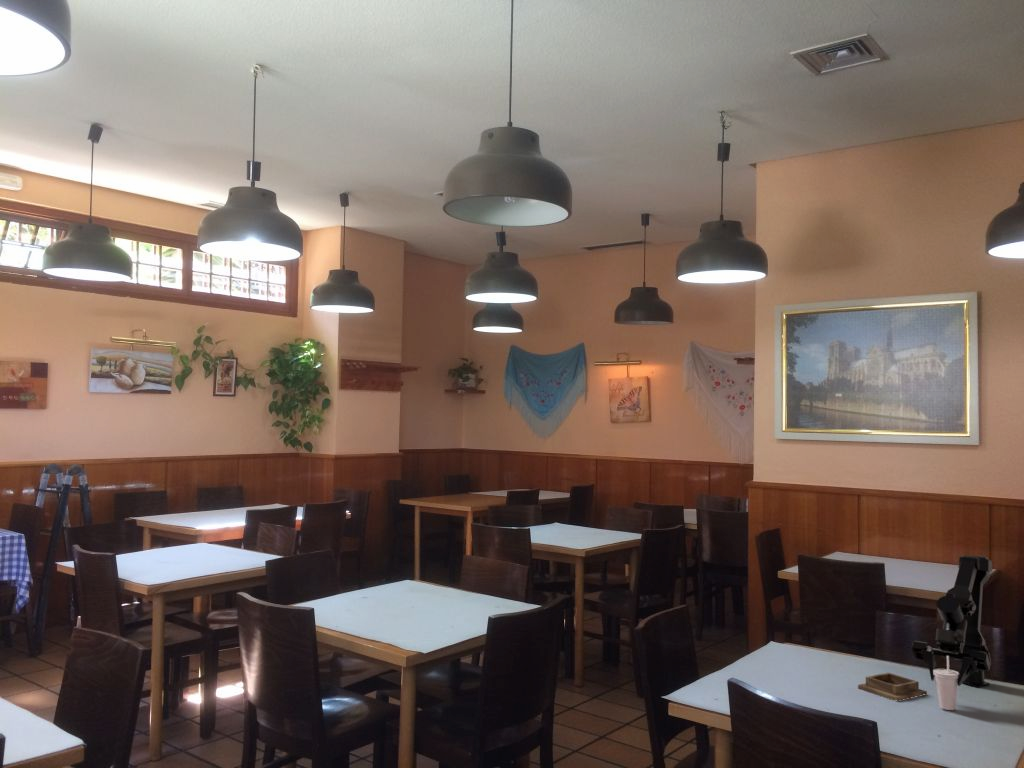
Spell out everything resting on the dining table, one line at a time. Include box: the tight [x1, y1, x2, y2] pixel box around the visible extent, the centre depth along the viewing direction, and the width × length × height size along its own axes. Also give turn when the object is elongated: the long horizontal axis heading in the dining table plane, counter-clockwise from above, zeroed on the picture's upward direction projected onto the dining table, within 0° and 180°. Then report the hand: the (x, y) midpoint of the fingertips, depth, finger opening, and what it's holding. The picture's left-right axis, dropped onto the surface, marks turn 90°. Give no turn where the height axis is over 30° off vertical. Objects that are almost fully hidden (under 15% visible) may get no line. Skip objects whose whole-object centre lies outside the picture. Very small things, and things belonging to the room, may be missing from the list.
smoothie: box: [933, 656, 960, 711], centre depth 216 cm, size 6×6×14 cm
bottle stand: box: [857, 672, 928, 702], centre depth 230 cm, size 13×13×4 cm
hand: (945, 682), depth 215 cm, fingers closed on smoothie, 6 cm apart
